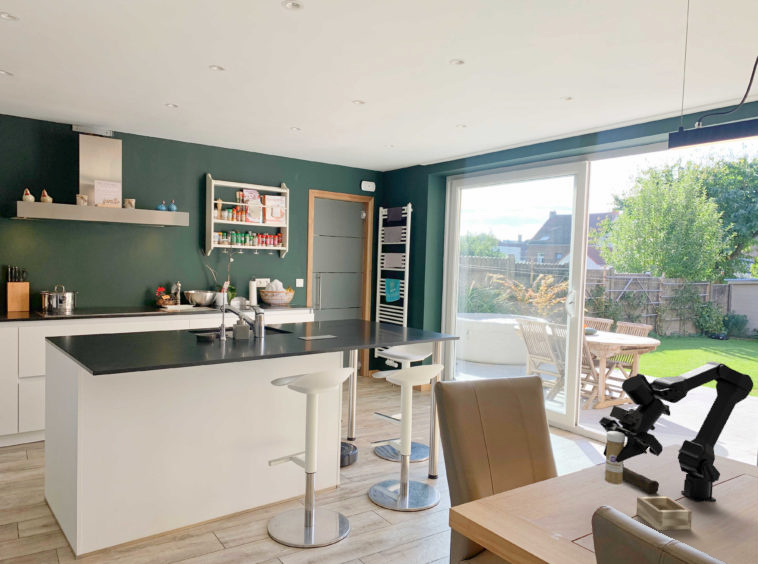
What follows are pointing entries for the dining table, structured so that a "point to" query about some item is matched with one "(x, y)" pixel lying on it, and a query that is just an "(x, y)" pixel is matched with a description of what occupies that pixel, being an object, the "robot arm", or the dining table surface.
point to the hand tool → (640, 481)
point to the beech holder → (664, 513)
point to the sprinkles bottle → (614, 457)
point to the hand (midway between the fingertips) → (610, 458)
